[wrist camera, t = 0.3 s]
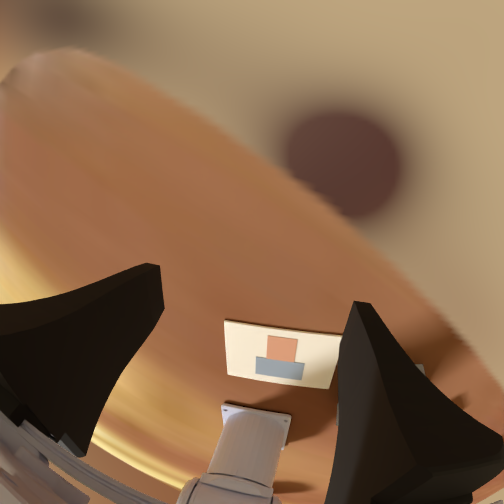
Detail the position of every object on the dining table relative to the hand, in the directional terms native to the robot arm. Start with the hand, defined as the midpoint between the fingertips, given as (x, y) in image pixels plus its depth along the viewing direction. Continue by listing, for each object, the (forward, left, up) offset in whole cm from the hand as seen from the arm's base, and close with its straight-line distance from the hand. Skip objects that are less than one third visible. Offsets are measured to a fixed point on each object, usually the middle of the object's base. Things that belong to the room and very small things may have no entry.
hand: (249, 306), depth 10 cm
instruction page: (-13, -1, -10) cm, 16 cm away
